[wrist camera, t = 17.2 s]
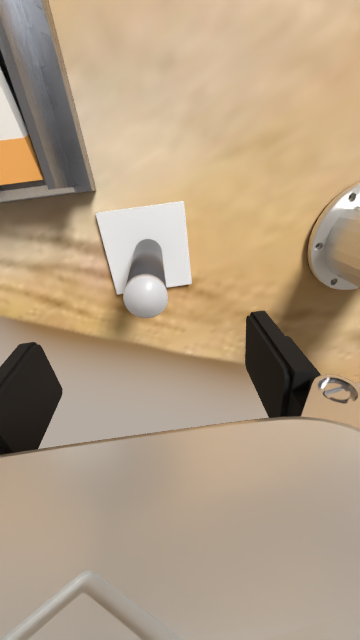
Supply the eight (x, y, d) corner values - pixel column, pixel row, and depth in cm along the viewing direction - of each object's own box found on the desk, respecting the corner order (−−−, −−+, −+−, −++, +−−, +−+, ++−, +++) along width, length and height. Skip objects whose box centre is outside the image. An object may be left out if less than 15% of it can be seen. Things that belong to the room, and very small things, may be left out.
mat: (183, 200, 26) (183, 201, 25) (190, 281, 30) (191, 283, 29) (96, 212, 25) (95, 213, 25) (117, 291, 30) (117, 294, 29)
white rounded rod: (159, 237, 26) (164, 275, 16) (163, 264, 28) (170, 314, 18) (132, 240, 26) (118, 281, 16) (137, 267, 28) (128, 320, 18)
